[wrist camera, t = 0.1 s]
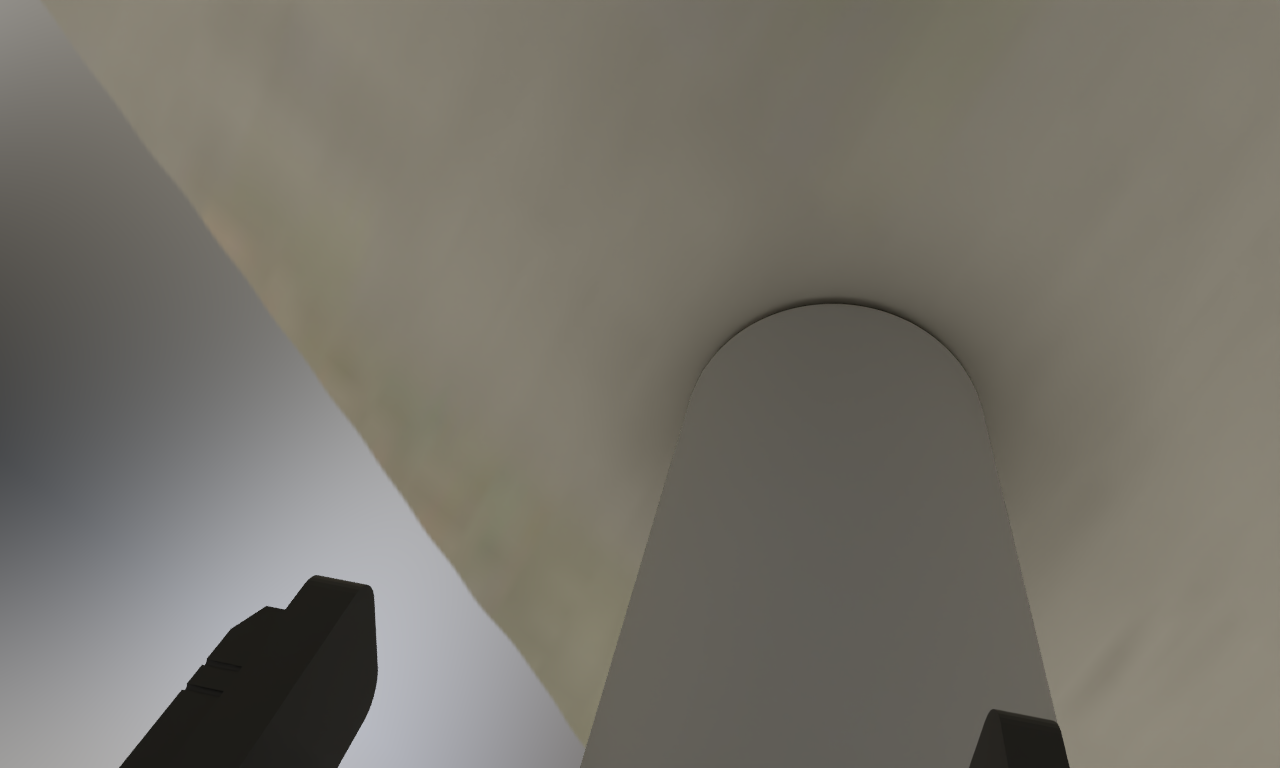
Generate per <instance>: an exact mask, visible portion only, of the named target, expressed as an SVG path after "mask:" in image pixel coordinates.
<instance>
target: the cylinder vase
mask: <svg viewBox="0 0 1280 768" xmlns="http://www.w3.org/2000/svg"><path fill="white" fill-rule="evenodd" d="M992 709H997V710H1002V711H1007V712H1012V713H1018V714H1023V715H1028V716H1033V717H1038V718H1043V719H1048V720H1054V721H1055V722H1056V723H1057V719H1056V715H1055V711H1054V707H1053V703H1052V698H1051V694H1050V690H1049V686H1048V682H1047V678H1046V673H1045V669H1044V665H1043V661H1042V657H1041V652H1040V648H1039V644H1038V640H1037V636H1036V631H1035V627H1034V623H1033V619H1032V615H1031V611H1030V606H1029V602H1028V598H1027V594H1026V590H1025V585H1024V581H1023V577H1022V573H1021V569H1020V565H1019V560H1018V556H1017V552H1016V548H1015V544H1014V539H1013V535H1012V531H1011V527H1010V523H1009V518H1008V514H1007V510H1006V506H1005V502H1004V498H1003V493H1002V489H1001V485H1000V481H999V477H998V472H997V468H996V464H995V460H994V456H993V451H992V447H991V443H990V439H989V435H988V431H987V426H986V422H985V418H984V414H983V410H982V406H981V403H980V400H979V397H978V394H977V392H976V389H975V387H974V385H973V383H972V381H971V379H970V378H969V376H968V374H967V373H966V371H965V370H964V368H963V367H962V366H961V364H960V363H959V362H958V360H957V359H956V358H955V357H954V356H953V355H952V353H951V352H950V351H949V350H948V349H947V348H946V347H945V346H943V345H942V344H941V343H940V342H939V341H938V340H937V339H935V338H934V337H933V336H931V335H930V334H928V333H927V332H926V331H924V330H923V329H921V328H919V327H918V326H916V325H914V324H912V323H910V322H908V321H906V320H904V319H902V318H900V317H897V316H895V315H892V314H890V313H887V312H883V311H880V310H876V309H872V308H868V307H863V306H856V305H848V304H818V305H809V306H803V307H798V308H793V309H789V310H786V311H782V312H779V313H776V314H774V315H771V316H769V317H766V318H764V319H762V320H760V321H758V322H756V323H754V324H752V325H750V326H749V327H747V328H746V329H744V330H743V331H741V332H740V333H738V334H737V335H736V336H734V337H733V338H732V339H730V340H729V341H728V342H727V343H726V344H725V345H724V346H723V347H722V348H721V349H720V350H719V351H718V352H717V353H716V354H715V355H714V356H713V358H712V359H711V360H710V362H709V363H708V364H707V366H706V367H705V369H704V370H703V372H702V373H701V375H700V377H699V379H698V381H697V383H696V385H695V387H694V390H693V392H692V395H691V398H690V401H689V405H688V408H687V411H686V415H685V418H684V421H683V425H682V428H681V431H680V435H679V438H678V441H677V445H676V448H675V451H674V455H673V458H672V461H671V465H670V468H669V472H668V475H667V478H666V482H665V485H664V488H663V492H662V495H661V498H660V502H659V505H658V508H657V512H656V515H655V518H654V522H653V525H652V528H651V532H650V535H649V538H648V542H647V545H646V548H645V552H644V555H643V559H642V562H641V565H640V569H639V572H638V575H637V579H636V582H635V585H634V589H633V592H632V595H631V599H630V602H629V605H628V609H627V612H626V615H625V619H624V622H623V625H622V629H621V632H620V635H619V639H618V642H617V646H616V649H615V652H614V656H613V659H612V662H611V666H610V669H609V672H608V676H607V679H606V682H605V686H604V689H603V692H602V696H601V699H600V702H599V706H598V709H597V712H596V716H595V719H594V723H593V726H592V729H591V733H590V736H589V739H588V743H587V746H586V749H585V753H584V756H583V760H582V763H581V766H580V768H969V766H970V763H971V760H972V757H973V754H974V751H975V749H976V746H977V743H978V740H979V737H980V734H981V731H982V728H983V725H984V722H985V720H986V717H987V715H988V713H989V712H990V710H992Z"/></svg>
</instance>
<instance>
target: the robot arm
mask: <svg viewBox="0 0 1280 768" xmlns="http://www.w3.org/2000/svg"><path fill="white" fill-rule="evenodd" d="M374 606H375V605H374V594H373V590H372V588H371V587H370V586H369V585H365V584H360V583H355V582H349V581H344V580H339V579H334V578H329V577H324V576H319V575H315V576H313V577H311V578H310V579H309V580H308V581H307V582H306V583H305V584H304V586H303V587H302V588H301V590H300V591H299V592H298V593H297V595H296V596H295V597H294V599H293V600H292V601H291V603H290V604H289V605H288V607H287V608H286V609H285V610H284V609H279V608H273V607H268V606H266V607H264V608H263V609H261V610H260V611H258V612H257V613H255V614H253V615H252V616H250V617H249V618H247V619H246V620H244V621H243V622H241V623H240V624H238V625H236V626H235V627H233V628H232V629H231V630H230V631H229V632H228V633H227V634H226V636H225V637H224V638H223V640H222V641H221V642H220V643H219V645H218V646H217V647H216V648H215V650H214V651H213V652H212V653H211V654H210V656H209V657H208V658H207V662H206V664H205V665H202V666H201V667H200V668H199V669H198V671H197V672H196V673H195V674H194V676H193V677H192V678H191V679H190V680H189V682H188V683H187V687H186V689H185V690H181V692H180V693H179V694H178V695H177V697H176V698H175V699H174V700H173V702H172V703H171V704H170V705H169V707H168V708H167V709H166V710H165V712H164V713H163V714H162V715H161V717H160V718H159V719H158V720H157V722H156V723H155V724H154V725H153V726H152V728H151V729H150V730H149V731H148V733H147V734H146V735H145V736H144V738H143V739H142V740H141V741H140V743H139V744H138V745H137V746H136V748H135V749H134V750H133V751H132V753H131V754H130V755H129V756H128V757H127V759H126V760H125V761H124V763H123V764H122V765H121V766H120V767H119V768H338V766H339V764H340V762H341V760H342V759H343V757H344V755H345V753H346V752H347V750H348V748H349V746H350V745H351V743H352V741H353V739H354V737H355V736H356V734H357V732H358V730H359V728H360V727H361V725H362V723H363V722H364V720H365V718H366V715H367V713H368V711H369V709H370V706H371V703H372V700H373V697H374V693H375V689H376V683H377V675H378V666H377V665H378V664H377V645H376V626H375V607H374ZM969 768H1070V767H1069V763H1068V759H1067V755H1066V751H1065V746H1064V742H1063V738H1062V734H1061V731H1060V728H1059V726H1058V724H1057V723H1056V722H1055V721H1054V720H1048V719H1043V718H1038V717H1033V716H1028V715H1023V714H1018V713H1012V712H1007V711H1002V710H997V709H992V710H990V712H989V713H988V715H987V717H986V720H985V722H984V725H983V728H982V731H981V734H980V737H979V740H978V743H977V746H976V749H975V751H974V754H973V757H972V760H971V763H970V766H969Z"/></svg>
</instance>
